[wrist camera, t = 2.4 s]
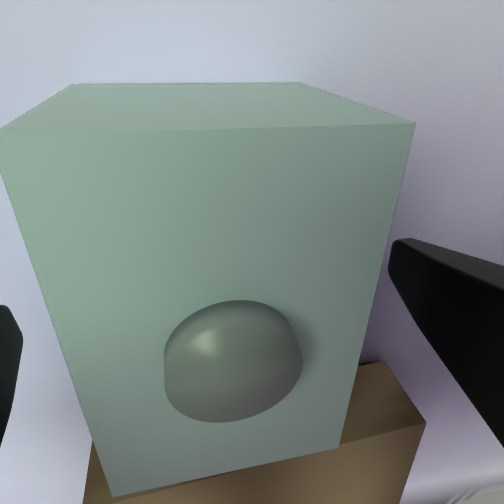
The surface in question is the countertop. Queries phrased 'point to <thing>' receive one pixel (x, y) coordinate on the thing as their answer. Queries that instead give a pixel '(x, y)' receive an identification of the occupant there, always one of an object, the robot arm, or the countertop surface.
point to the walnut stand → (310, 460)
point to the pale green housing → (206, 263)
